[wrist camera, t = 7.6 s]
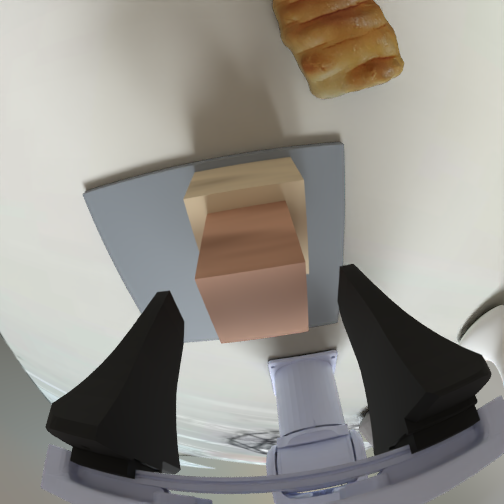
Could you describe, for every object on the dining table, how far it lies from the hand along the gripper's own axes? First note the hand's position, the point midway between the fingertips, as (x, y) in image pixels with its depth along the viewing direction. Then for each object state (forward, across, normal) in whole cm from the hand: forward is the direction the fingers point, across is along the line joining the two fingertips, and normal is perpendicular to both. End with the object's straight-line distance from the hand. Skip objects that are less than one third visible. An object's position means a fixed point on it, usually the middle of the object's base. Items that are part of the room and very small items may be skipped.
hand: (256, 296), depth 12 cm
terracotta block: (+4, 0, 0) cm, 4 cm away
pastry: (+9, -6, -11) cm, 16 cm away
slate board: (+9, +2, +5) cm, 10 cm away
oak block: (+8, 0, 0) cm, 8 cm away
